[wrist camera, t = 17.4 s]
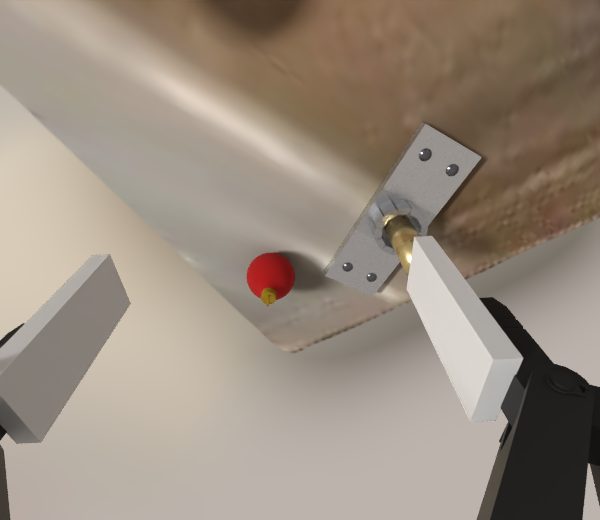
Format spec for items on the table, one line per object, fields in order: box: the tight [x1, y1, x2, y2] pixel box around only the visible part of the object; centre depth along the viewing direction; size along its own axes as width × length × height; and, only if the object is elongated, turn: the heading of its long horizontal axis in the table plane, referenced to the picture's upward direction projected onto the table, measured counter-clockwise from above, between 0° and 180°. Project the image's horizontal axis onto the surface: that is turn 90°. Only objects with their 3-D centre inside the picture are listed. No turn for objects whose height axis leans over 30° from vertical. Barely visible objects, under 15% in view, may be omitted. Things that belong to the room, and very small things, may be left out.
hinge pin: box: [383, 215, 421, 276], centre depth 42 cm, size 4×4×11 cm
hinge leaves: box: [324, 122, 482, 296], centre depth 46 cm, size 25×9×4 cm, turn 153°
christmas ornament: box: [247, 253, 295, 306], centre depth 48 cm, size 7×7×10 cm
